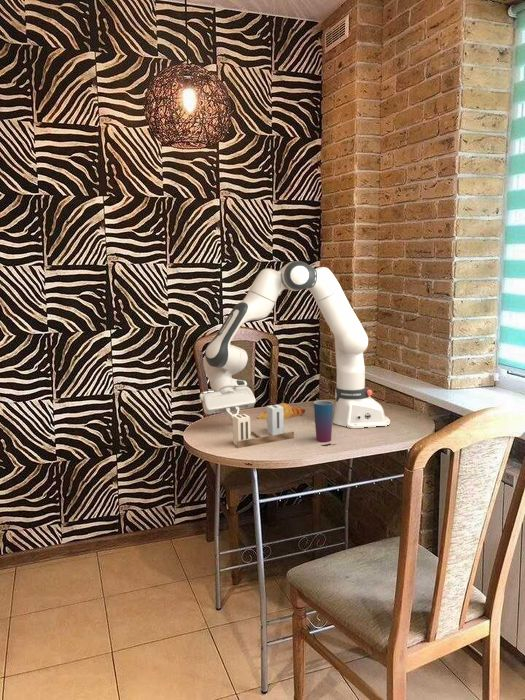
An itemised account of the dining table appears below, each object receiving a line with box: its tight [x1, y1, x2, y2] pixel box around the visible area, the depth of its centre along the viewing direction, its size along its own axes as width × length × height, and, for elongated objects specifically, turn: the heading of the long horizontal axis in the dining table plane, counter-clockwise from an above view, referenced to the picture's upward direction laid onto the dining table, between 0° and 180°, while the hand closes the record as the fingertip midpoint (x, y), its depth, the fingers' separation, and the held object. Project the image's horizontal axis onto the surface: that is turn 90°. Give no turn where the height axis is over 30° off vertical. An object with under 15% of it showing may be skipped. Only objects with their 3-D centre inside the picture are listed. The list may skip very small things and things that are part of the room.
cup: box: [313, 399, 334, 447], centre depth 196 cm, size 7×7×15 cm
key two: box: [232, 413, 252, 446], centre depth 193 cm, size 4×5×10 cm
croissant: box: [256, 402, 306, 420], centre depth 229 cm, size 21×10×8 cm, turn 113°
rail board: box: [236, 431, 295, 449], centre depth 200 cm, size 22×12×4 cm, turn 117°
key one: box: [266, 404, 285, 436], centre depth 205 cm, size 4×5×10 cm
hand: (235, 419), depth 206 cm, fingers closed
